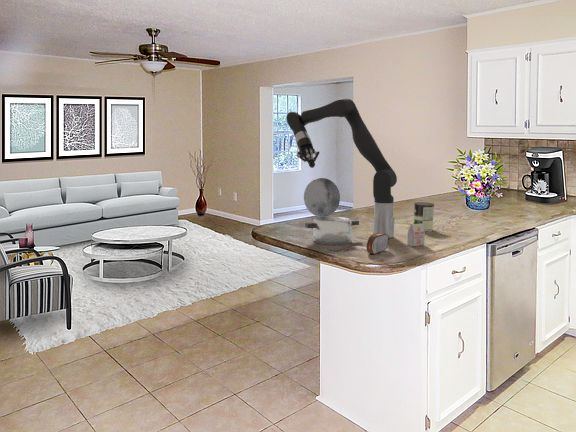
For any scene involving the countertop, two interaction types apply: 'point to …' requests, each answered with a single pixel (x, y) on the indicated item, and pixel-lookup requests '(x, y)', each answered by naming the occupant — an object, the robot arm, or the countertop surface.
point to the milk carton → (416, 235)
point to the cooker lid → (321, 197)
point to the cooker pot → (332, 230)
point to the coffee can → (424, 215)
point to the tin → (377, 243)
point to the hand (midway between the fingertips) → (312, 166)
